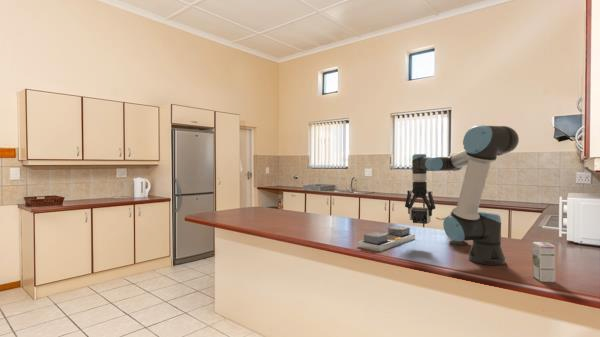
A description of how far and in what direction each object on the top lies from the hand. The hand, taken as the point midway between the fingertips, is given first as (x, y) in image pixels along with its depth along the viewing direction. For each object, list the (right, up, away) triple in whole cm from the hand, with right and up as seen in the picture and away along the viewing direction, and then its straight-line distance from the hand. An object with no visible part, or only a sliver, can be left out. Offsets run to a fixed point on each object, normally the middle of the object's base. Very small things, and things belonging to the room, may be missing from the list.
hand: (419, 220), depth 186 cm
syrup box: (+30, -15, -55) cm, 64 cm away
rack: (-16, -14, +7) cm, 23 cm away
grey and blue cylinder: (+24, -14, +5) cm, 28 cm away
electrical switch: (0, -1, 0) cm, 2 cm away
